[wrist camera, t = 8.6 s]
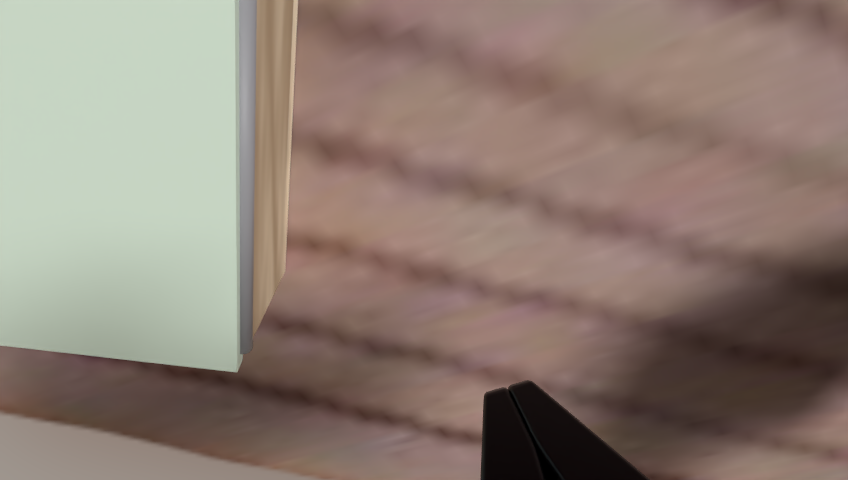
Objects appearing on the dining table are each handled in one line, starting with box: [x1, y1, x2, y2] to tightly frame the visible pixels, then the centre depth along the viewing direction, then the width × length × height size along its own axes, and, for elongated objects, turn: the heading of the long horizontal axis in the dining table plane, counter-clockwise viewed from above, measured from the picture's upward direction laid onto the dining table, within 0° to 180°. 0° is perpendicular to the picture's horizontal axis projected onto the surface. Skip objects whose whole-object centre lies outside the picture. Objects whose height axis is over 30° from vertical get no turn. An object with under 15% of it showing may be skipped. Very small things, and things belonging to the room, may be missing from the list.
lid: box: [0, 0, 257, 372], centre depth 14 cm, size 9×12×1 cm
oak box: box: [253, 0, 298, 337], centre depth 16 cm, size 9×12×5 cm
